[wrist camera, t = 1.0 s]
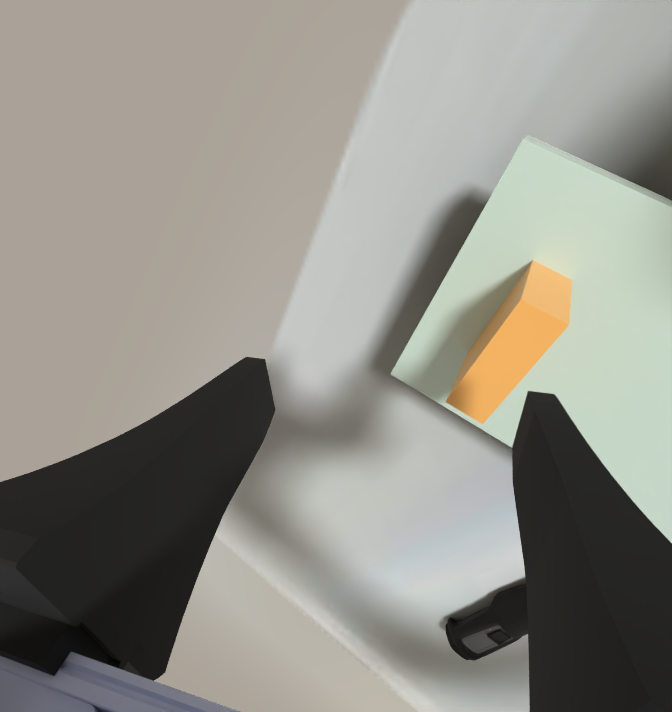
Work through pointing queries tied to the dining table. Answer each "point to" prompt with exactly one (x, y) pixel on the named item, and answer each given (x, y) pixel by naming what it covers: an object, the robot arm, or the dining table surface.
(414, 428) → the dining table surface
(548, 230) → the lid
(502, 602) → the electric trimmer
